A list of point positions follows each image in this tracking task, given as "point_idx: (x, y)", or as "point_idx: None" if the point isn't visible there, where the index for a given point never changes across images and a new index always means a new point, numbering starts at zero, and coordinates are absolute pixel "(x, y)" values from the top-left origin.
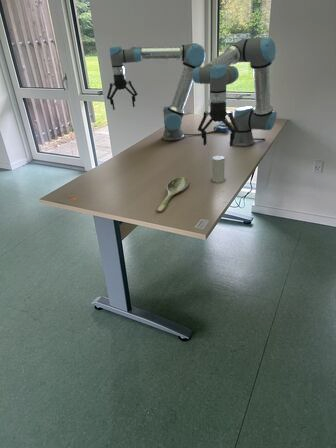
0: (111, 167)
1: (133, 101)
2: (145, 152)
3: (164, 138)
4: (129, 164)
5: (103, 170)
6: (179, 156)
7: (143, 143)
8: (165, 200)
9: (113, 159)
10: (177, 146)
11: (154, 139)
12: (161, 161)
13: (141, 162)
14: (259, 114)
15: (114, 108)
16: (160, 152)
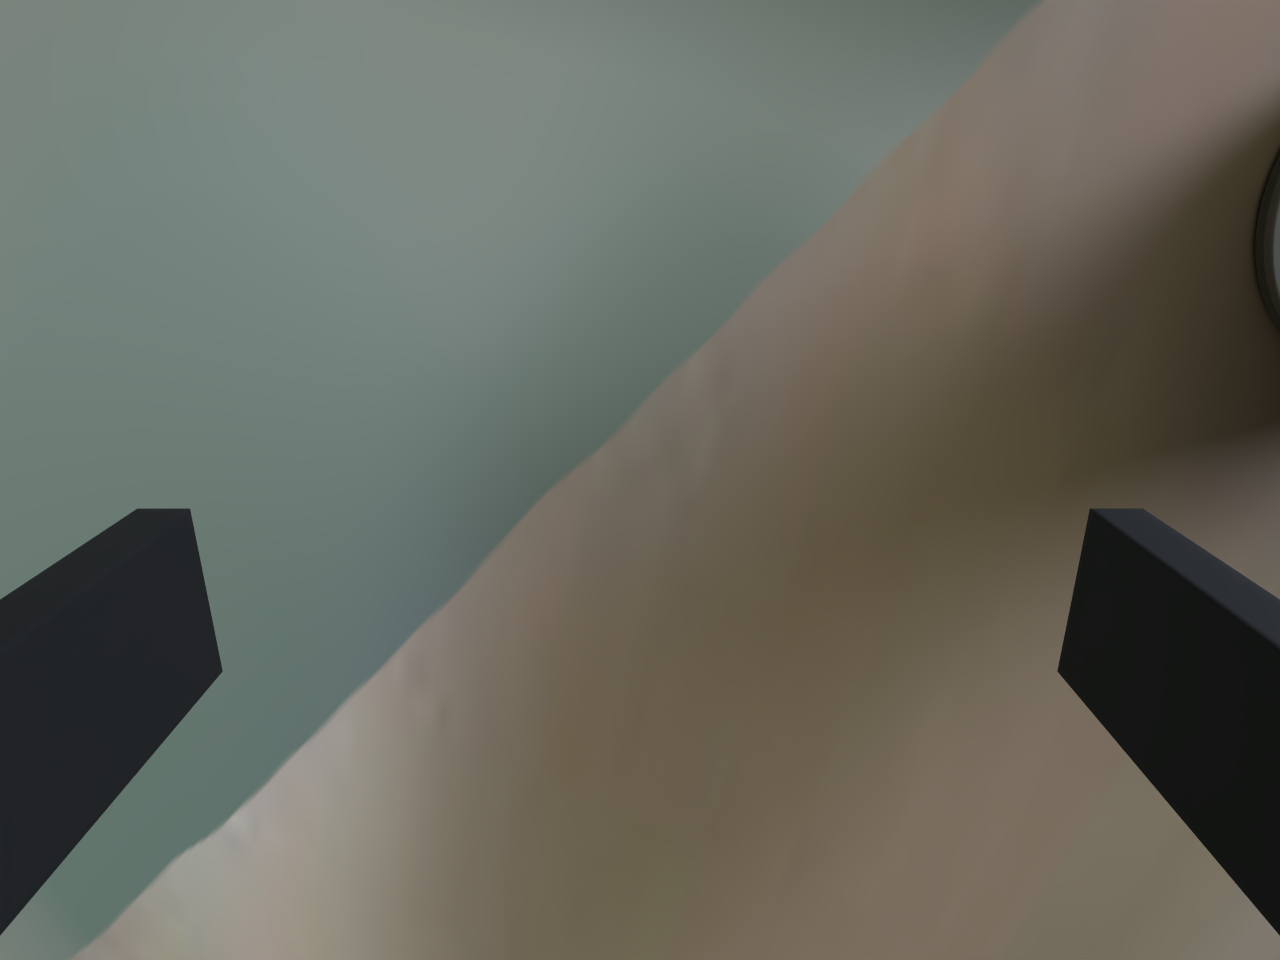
0: (340, 879)
1: (1240, 853)
2: (790, 634)
3: (1270, 249)
4: (532, 884)
5: (257, 913)
6: (1074, 905)
7: (890, 236)
8: None
9: (369, 680)
10: None
11: (1132, 110)
12: (855, 943)
13: (661, 887)
14: None
15: (189, 704)
16: (953, 716)
